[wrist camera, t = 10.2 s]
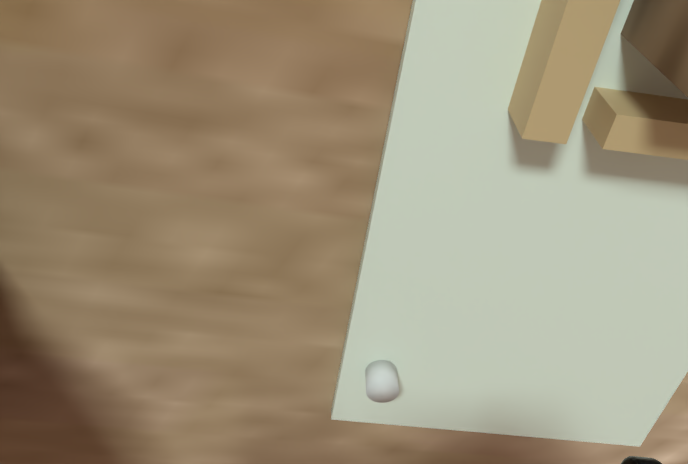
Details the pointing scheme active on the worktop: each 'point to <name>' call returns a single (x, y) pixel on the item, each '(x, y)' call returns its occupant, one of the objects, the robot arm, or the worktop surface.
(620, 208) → the wall board
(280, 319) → the worktop surface
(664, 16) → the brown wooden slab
